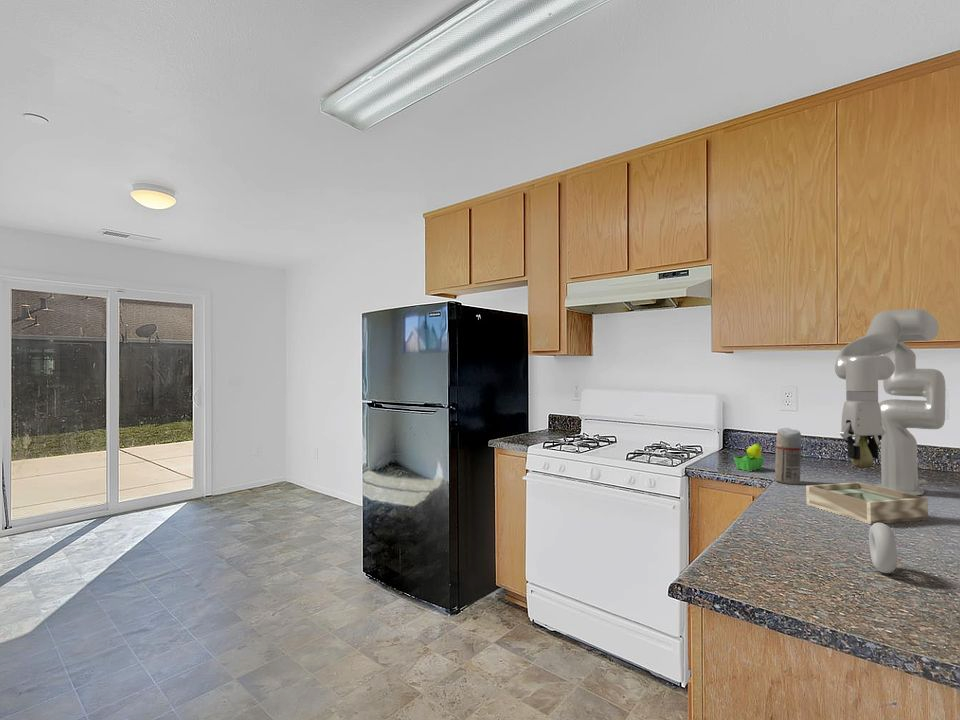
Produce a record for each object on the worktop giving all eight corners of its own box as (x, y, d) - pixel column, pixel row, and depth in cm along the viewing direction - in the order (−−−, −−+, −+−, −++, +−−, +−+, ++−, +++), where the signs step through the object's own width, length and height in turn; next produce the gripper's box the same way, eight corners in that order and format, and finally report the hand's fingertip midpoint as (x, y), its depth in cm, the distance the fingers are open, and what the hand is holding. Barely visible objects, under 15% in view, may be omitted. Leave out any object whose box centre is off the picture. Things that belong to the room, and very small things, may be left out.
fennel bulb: (864, 466, 147) (863, 426, 148) (879, 469, 143) (878, 428, 143) (847, 466, 147) (846, 426, 147) (862, 470, 142) (861, 428, 142)
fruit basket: (748, 466, 213) (747, 440, 213) (768, 470, 205) (768, 443, 205) (732, 469, 207) (732, 442, 207) (753, 473, 199) (753, 445, 199)
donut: (867, 561, 107) (866, 515, 107) (887, 564, 105) (886, 518, 106) (877, 578, 98) (876, 528, 99) (899, 582, 97) (899, 531, 97)
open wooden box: (858, 501, 156) (858, 482, 156) (928, 519, 137) (927, 498, 137) (806, 505, 152) (806, 485, 152) (870, 524, 132) (870, 502, 133)
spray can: (798, 480, 185) (797, 427, 186) (804, 485, 177) (803, 430, 178) (772, 479, 188) (771, 427, 188) (777, 483, 180) (777, 429, 181)
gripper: (872, 396, 151) (873, 455, 150) (826, 397, 147) (827, 457, 146) (898, 397, 143) (899, 459, 143) (850, 398, 139) (851, 461, 139)
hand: (863, 457), depth 145 cm, fingers closed on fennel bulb, 5 cm apart
